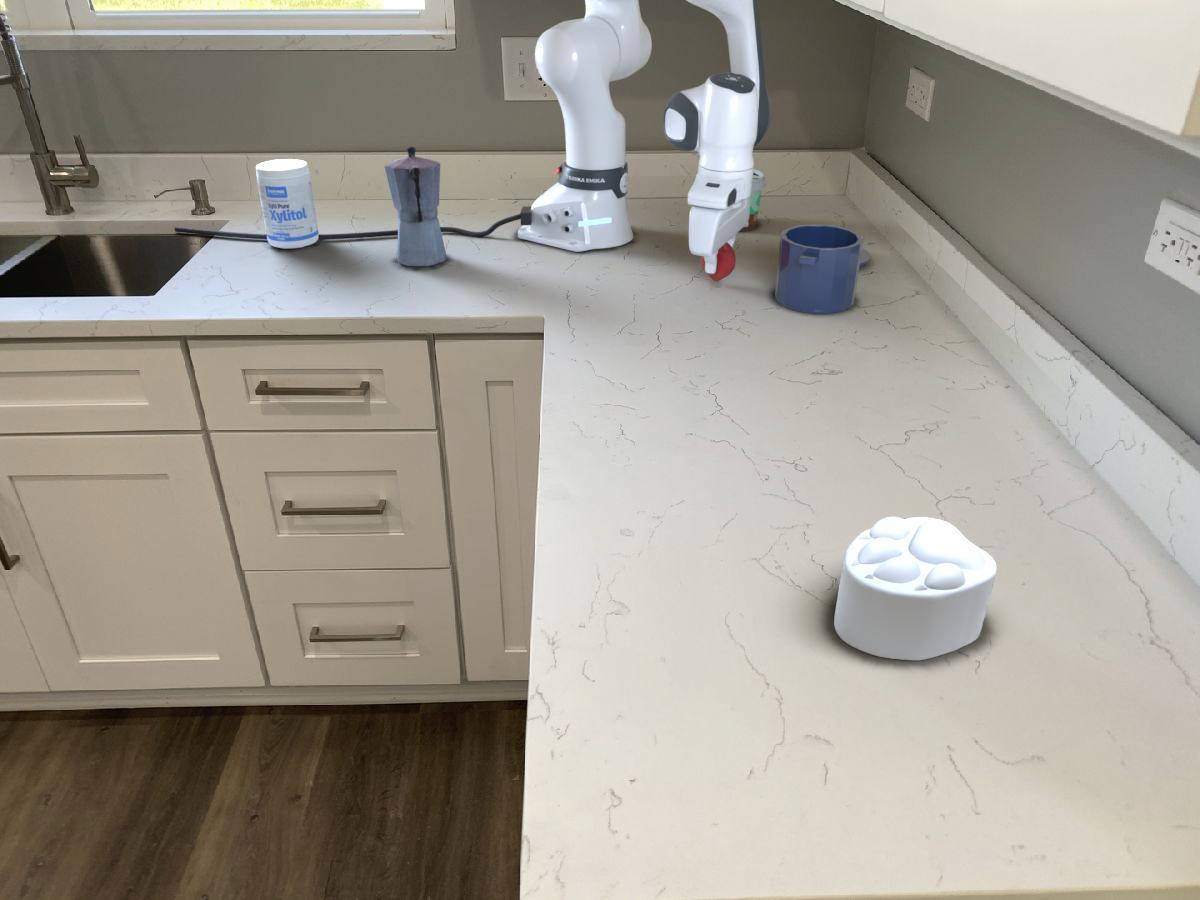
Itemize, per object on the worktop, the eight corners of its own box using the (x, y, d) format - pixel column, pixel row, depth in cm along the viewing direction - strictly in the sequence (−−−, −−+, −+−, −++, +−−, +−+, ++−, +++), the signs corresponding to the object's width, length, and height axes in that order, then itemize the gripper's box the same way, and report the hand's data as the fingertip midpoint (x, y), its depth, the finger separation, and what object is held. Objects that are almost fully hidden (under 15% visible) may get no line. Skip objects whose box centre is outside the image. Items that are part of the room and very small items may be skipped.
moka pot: (442, 245, 176) (432, 137, 165) (457, 272, 163) (447, 156, 153) (391, 250, 173) (378, 141, 163) (403, 278, 160) (389, 161, 150)
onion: (733, 275, 159) (737, 230, 155) (734, 288, 154) (738, 241, 150) (699, 274, 160) (703, 228, 156) (699, 286, 155) (702, 240, 151)
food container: (766, 233, 181) (770, 182, 175) (734, 233, 181) (738, 182, 175) (757, 215, 191) (761, 166, 186) (728, 215, 191) (731, 166, 186)
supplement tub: (275, 253, 172) (260, 173, 165) (262, 239, 179) (247, 162, 172) (327, 244, 176) (314, 166, 169) (312, 231, 183) (299, 155, 176)
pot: (761, 312, 147) (767, 248, 141) (790, 275, 161) (797, 216, 155) (840, 325, 142) (849, 259, 137) (863, 286, 156) (872, 225, 151)
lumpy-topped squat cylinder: (997, 636, 83) (1019, 559, 78) (876, 676, 78) (892, 597, 74) (921, 569, 91) (937, 496, 86) (808, 602, 87) (819, 527, 82)
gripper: (727, 165, 157) (721, 244, 165) (683, 196, 142) (678, 282, 149) (763, 170, 155) (755, 249, 162) (722, 202, 139) (715, 288, 147)
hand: (718, 265), depth 156 cm, fingers closed on onion, 6 cm apart
